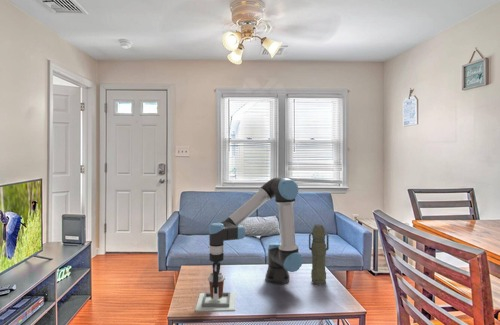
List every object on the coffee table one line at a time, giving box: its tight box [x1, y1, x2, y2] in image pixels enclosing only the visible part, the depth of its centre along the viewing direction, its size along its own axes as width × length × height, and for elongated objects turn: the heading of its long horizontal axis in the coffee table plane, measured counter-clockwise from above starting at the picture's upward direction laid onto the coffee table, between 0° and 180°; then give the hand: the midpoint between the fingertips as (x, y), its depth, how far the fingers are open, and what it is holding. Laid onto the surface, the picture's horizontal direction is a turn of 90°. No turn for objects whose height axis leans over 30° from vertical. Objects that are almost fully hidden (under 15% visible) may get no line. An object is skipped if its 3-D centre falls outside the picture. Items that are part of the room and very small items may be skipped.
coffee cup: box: [207, 271, 226, 300], centre depth 168 cm, size 9×9×12 cm
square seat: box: [194, 291, 237, 312], centre depth 168 cm, size 20×20×2 cm
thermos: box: [308, 224, 330, 286], centre depth 195 cm, size 9×12×35 cm
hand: (216, 295), depth 168 cm, fingers closed on coffee cup, 9 cm apart
